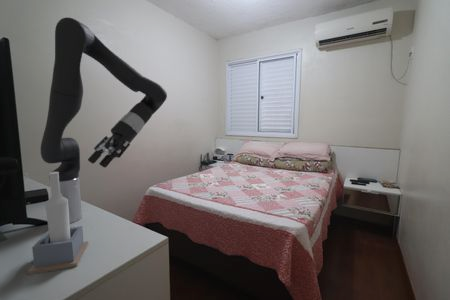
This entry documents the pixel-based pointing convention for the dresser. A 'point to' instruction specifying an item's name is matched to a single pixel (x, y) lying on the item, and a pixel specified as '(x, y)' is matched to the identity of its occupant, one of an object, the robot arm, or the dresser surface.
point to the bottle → (57, 212)
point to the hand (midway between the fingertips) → (95, 163)
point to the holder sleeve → (58, 252)
